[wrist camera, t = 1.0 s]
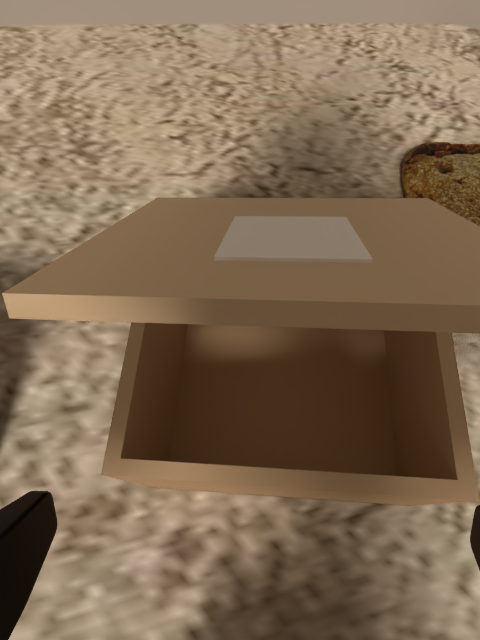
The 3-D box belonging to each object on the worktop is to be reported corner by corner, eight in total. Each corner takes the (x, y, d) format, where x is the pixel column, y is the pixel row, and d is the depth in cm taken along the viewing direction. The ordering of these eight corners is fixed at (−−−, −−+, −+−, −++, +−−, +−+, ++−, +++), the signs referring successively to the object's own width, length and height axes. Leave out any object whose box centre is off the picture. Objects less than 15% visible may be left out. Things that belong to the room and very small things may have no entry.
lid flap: (617, 337, 8) (632, 304, 8) (9, 318, 9) (1, 289, 9) (425, 211, 19) (428, 195, 18) (158, 210, 20) (157, 195, 19)
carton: (408, 505, 21) (479, 500, 14) (156, 487, 22) (101, 474, 15) (387, 296, 26) (431, 213, 19) (184, 291, 27) (153, 211, 20)
